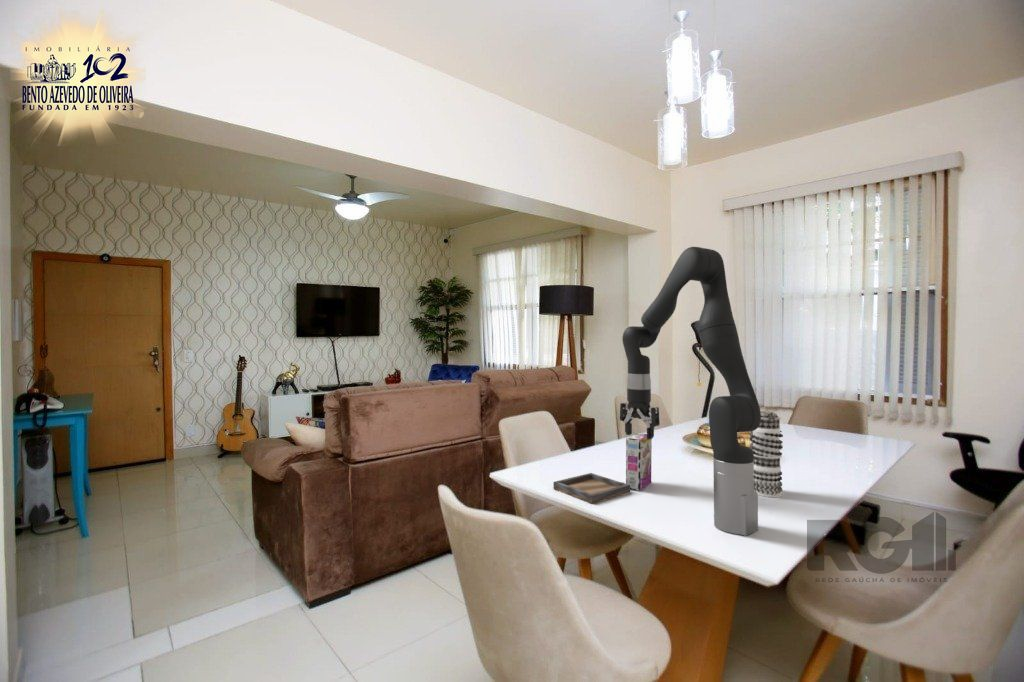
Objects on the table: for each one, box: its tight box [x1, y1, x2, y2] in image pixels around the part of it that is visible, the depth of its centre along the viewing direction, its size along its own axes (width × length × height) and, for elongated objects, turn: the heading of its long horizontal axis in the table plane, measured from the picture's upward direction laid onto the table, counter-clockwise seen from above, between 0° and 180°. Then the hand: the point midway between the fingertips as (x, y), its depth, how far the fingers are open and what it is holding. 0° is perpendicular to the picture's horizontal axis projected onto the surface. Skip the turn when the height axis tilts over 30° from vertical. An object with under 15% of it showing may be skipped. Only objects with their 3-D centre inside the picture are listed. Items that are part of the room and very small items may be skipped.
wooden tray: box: [553, 472, 631, 505], centre depth 145 cm, size 17×17×2 cm
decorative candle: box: [748, 410, 784, 498], centre depth 142 cm, size 9×9×25 cm
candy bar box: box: [625, 432, 653, 492], centre depth 150 cm, size 11×5×16 cm, turn 144°
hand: (639, 436), depth 150 cm, fingers open, 8 cm apart
